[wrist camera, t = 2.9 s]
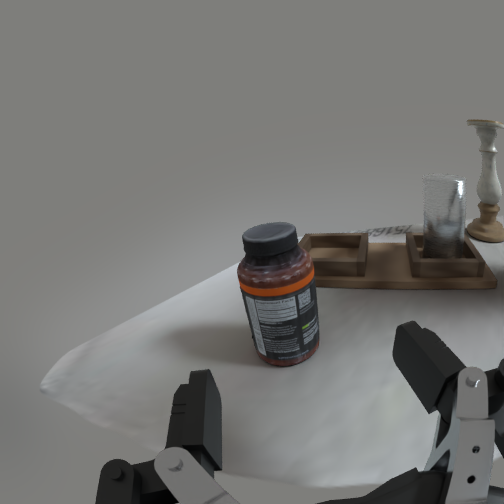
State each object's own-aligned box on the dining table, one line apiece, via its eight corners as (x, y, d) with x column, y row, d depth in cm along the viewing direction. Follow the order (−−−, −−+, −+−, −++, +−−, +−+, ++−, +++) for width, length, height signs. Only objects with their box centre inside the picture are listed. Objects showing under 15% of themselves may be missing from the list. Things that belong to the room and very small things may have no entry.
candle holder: (460, 234, 37) (456, 118, 30) (475, 223, 40) (472, 122, 32) (500, 247, 29) (500, 120, 22) (510, 234, 32) (510, 124, 25)
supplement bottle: (268, 324, 28) (248, 219, 24) (325, 328, 25) (316, 215, 21) (245, 364, 23) (214, 245, 19) (311, 373, 20) (298, 243, 16)
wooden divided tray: (471, 249, 32) (473, 231, 30) (495, 288, 22) (500, 265, 21) (297, 248, 45) (295, 231, 44) (271, 284, 36) (268, 264, 34)
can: (455, 250, 31) (458, 174, 27) (465, 269, 26) (472, 182, 22) (419, 250, 33) (419, 173, 29) (425, 269, 28) (427, 180, 25)
